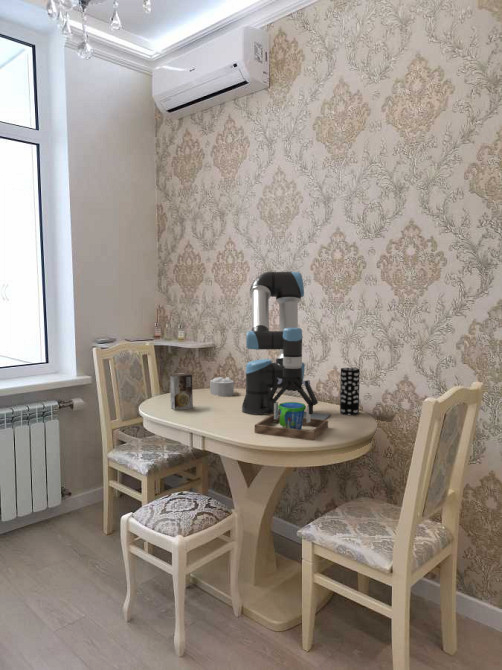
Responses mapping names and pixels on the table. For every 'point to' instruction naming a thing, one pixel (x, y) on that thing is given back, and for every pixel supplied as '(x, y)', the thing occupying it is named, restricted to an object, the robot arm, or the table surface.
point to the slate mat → (317, 416)
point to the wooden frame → (287, 432)
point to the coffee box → (181, 391)
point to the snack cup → (291, 415)
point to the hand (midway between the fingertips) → (292, 420)
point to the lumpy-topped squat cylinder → (222, 386)
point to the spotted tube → (349, 391)
